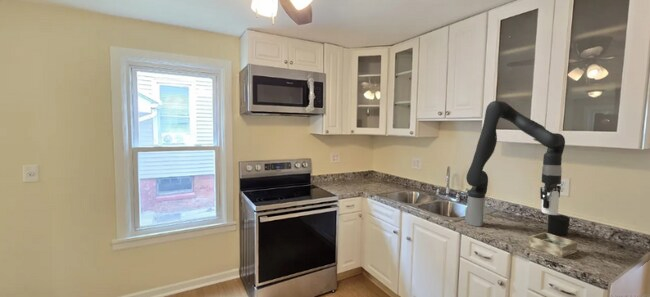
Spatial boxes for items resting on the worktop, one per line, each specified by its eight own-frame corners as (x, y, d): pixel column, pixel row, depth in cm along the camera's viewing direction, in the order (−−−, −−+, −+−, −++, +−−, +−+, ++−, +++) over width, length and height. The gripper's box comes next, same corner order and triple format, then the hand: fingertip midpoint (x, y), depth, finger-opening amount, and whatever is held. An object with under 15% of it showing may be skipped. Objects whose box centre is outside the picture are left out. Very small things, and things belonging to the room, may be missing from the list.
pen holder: (564, 237, 156) (566, 220, 155) (544, 232, 163) (545, 215, 163) (570, 234, 161) (572, 217, 160) (550, 229, 169) (552, 212, 168)
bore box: (528, 246, 144) (529, 236, 144) (543, 241, 150) (544, 232, 150) (561, 257, 131) (562, 247, 131) (576, 252, 138) (577, 242, 137)
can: (550, 211, 145) (551, 188, 144) (561, 215, 138) (562, 190, 138) (538, 211, 145) (539, 188, 144) (548, 215, 138) (549, 190, 137)
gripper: (550, 171, 147) (548, 203, 148) (534, 173, 140) (533, 207, 141) (568, 174, 140) (566, 207, 141) (552, 175, 134) (550, 210, 135)
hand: (549, 207), depth 141 cm, fingers closed on can, 6 cm apart
